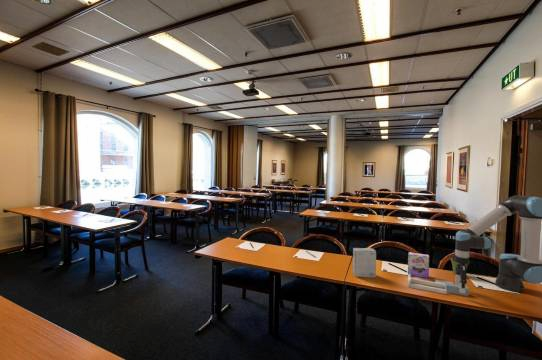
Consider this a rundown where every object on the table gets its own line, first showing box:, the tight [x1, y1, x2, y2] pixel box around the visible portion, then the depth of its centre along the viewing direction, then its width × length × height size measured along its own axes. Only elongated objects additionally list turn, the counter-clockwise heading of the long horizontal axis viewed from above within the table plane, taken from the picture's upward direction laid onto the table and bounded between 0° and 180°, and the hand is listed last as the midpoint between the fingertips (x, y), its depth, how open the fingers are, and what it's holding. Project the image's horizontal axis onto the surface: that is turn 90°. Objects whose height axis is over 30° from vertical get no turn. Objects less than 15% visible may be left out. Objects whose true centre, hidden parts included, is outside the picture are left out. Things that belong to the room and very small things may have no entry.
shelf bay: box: [407, 273, 447, 295], centre depth 177 cm, size 22×11×5 cm, turn 64°
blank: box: [444, 283, 470, 297], centre depth 170 cm, size 12×4×5 cm, turn 65°
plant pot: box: [450, 257, 469, 276], centre depth 200 cm, size 12×12×11 cm
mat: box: [434, 278, 454, 288], centre depth 183 cm, size 11×11×1 cm
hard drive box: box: [352, 247, 377, 279], centre depth 196 cm, size 16×8×20 cm, turn 84°
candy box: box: [407, 251, 430, 279], centre depth 198 cm, size 14×6×16 cm, turn 62°
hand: (460, 288), depth 169 cm, fingers open, 13 cm apart
